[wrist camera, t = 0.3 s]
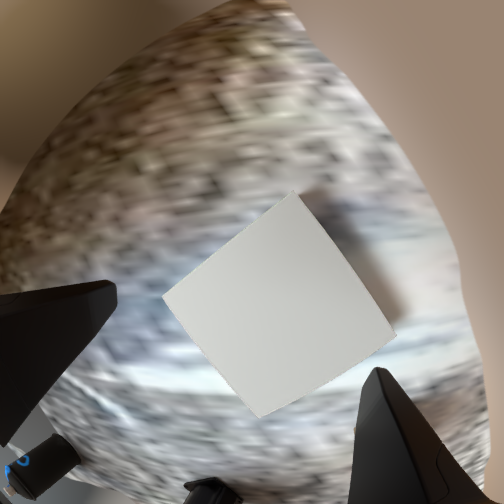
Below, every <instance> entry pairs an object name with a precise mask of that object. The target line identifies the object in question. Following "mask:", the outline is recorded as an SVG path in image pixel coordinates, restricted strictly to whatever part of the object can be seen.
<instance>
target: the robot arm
mask: <svg viewBox="0 0 504 504" xmlns="http://www.w3.org/2000/svg"><path fill="white" fill-rule="evenodd" d="M117 303H118V302H117V288H116V285H115V283H113V282H111V281H109V280H100V281H93V282H87V283H80V284H73V285H67V286H60V287H53V288H46V289H40V290H33V291H26V292H19V293H12V294H4V295H0V445H1V446H2V447H5V446H6V445H7V443H8V442H9V441H10V439H11V437H12V436H13V435H14V434H15V432H16V431H17V430H18V428H19V427H20V426H21V425H22V423H23V422H24V421H25V419H26V418H27V417H28V415H29V414H30V413H31V411H32V410H33V409H34V408H35V406H36V405H37V404H38V403H39V401H40V400H41V399H42V398H43V396H44V395H45V394H46V393H47V392H48V390H49V389H50V388H51V387H52V385H53V384H54V383H55V382H56V381H57V380H58V378H59V377H60V376H61V375H62V374H63V372H64V371H65V370H66V369H67V368H68V367H69V365H70V364H71V363H72V362H73V361H74V360H75V359H76V357H77V356H78V355H79V354H80V353H81V352H82V351H83V350H84V348H85V347H86V346H87V345H88V344H89V343H90V342H91V341H92V339H93V338H94V337H95V336H96V335H97V333H98V332H99V331H100V329H101V328H102V326H103V325H104V324H105V322H106V321H107V320H108V318H109V317H110V316H111V314H112V313H113V312H114V311H115V309H116V307H117ZM183 486H184V487H185V488H186V489H187V490H188V491H190V493H189V495H188V497H187V498H186V500H185V502H184V503H183V504H242V503H243V501H244V500H243V499H241V498H240V497H239V496H237V495H236V494H235V493H234V492H232V491H231V490H230V489H228V488H227V487H226V486H225V485H224V484H222V483H221V482H220V481H219V480H218V479H216V478H209V479H204V480H199V481H194V482H189V483H185V484H184V485H183ZM0 504H12V503H11V502H10V501H9V500H8V499H7V498H6V497H5V495H4V494H3V493H2V492H1V491H0ZM348 504H500V503H496V502H494V501H492V500H490V499H489V498H488V497H487V496H486V495H485V494H484V493H483V492H482V491H481V490H480V489H479V487H478V486H477V485H476V484H475V483H474V482H473V480H472V479H471V478H470V477H469V476H468V475H467V473H466V472H465V471H464V470H463V469H462V467H461V466H460V465H459V464H458V463H457V461H456V460H455V459H454V457H453V456H452V455H451V453H450V452H449V451H448V449H447V448H446V446H445V445H444V444H443V443H442V441H441V440H440V438H439V437H438V435H437V434H436V433H435V431H434V430H433V429H432V427H431V426H430V425H429V423H428V422H427V421H426V419H425V418H424V416H423V415H422V414H421V412H420V411H419V410H418V408H417V407H416V406H415V405H414V403H413V402H412V401H411V399H410V398H409V397H408V395H407V394H406V393H405V391H404V390H403V389H402V387H401V386H400V385H399V384H398V382H397V381H396V380H395V378H394V377H393V376H392V375H391V373H390V372H389V371H388V370H387V369H385V368H380V367H375V368H374V369H373V370H372V371H371V373H370V375H369V376H368V378H367V380H366V381H365V383H364V385H363V387H362V391H361V398H360V404H359V411H358V417H357V423H356V429H355V440H354V453H353V464H352V474H351V482H350V490H349V497H348Z"/></svg>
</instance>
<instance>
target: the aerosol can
mask: <svg viewBox="0 0 504 504" xmlns="http://www.w3.org/2000/svg"><path fill="white" fill-rule="evenodd" d="M79 464H80V458H79V456H78V454H77V453H76V451H75V450H74V449H73V447H72V446H71V445H70V444H69V443H68V442H67V441H66V440H65V439H64V438H63V437H61V436H60V435H58V434H55V433H53V434H52V436H51V437H50V438H48V439H47V440H46V441H44V442H43V443H41V444H40V445H38V446H37V447H36V448H34V449H32V450H31V451H30V452H28V453H26V454H25V455H23V456H22V457H20V458H19V459H18V460H16V461H15V462H13V463H11V464H10V465H8V466H7V465H5V468H6V469H5V474H6V477H7V479H8V481H9V484H10V485H8V486H7V487H5V488H3V489H4V490H5V491H6V493H7V494H8V495H9V496H10V497H11V496H13V495H14V494H16V492H17V493H18V494H20V495H22V496H23V497H25V498H27V499H30V500H34V501H36V498H37V497H38V496H40V495H41V494H42V493H44V492H45V491H46V490H47V489H49V488H50V487H51V486H52V485H53V484H55V483H56V482H57V481H58V480H59V479H61V478H62V477H63V476H64V475H66V474H67V473H68V472H69V471H70V470H71V469H73V468H74V467H75V466H76V465H79Z"/></svg>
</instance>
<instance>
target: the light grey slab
mask: <svg viewBox="0 0 504 504" xmlns="http://www.w3.org/2000/svg"><path fill="white" fill-rule="evenodd" d="M162 298H163V299H164V301H165V302H166V304H167V305H168V307H169V308H170V309H171V311H172V312H173V314H174V315H175V317H176V318H177V319H178V321H179V322H180V323H181V325H182V326H183V328H184V329H185V330H186V332H187V333H188V334H189V336H190V337H191V338H192V340H193V341H194V342H195V344H196V345H197V346H198V347H199V349H200V350H201V351H202V353H203V354H204V355H205V356H206V358H207V359H208V360H209V362H210V363H211V364H212V365H213V366H214V368H215V369H216V370H217V371H218V373H219V374H220V375H221V376H222V377H223V379H224V380H225V381H226V382H227V383H228V385H229V386H230V387H231V388H232V389H233V390H234V392H235V393H236V394H237V395H238V396H239V397H240V399H241V400H242V401H243V402H244V403H245V404H246V405H247V406H248V407H249V409H250V410H251V411H252V412H253V413H254V414H255V415H256V416H257V417H258V418H260V417H263V416H265V415H267V414H269V413H271V412H273V411H275V410H277V409H279V408H282V407H284V406H286V405H287V404H289V403H291V402H293V401H295V400H297V399H299V398H301V397H303V396H305V395H306V394H308V393H310V392H312V391H314V390H315V389H317V388H319V387H321V386H322V385H324V384H326V383H328V382H329V381H331V380H333V379H334V378H336V377H338V376H339V375H341V374H342V373H344V372H346V371H347V370H349V369H350V368H352V367H354V366H355V365H357V364H358V363H360V362H361V361H363V360H364V359H366V358H367V357H369V356H370V355H371V354H373V353H374V352H376V351H377V350H379V349H380V348H381V347H383V346H384V345H386V344H387V343H388V342H390V341H391V340H392V339H394V338H395V337H396V336H397V335H396V333H395V332H394V330H393V329H392V327H391V325H390V324H389V322H388V321H387V319H386V318H385V316H384V314H383V313H382V311H381V310H380V308H379V307H378V305H377V304H376V302H375V301H374V299H373V298H372V296H371V295H370V293H369V292H368V290H367V289H366V287H365V286H364V284H363V283H362V281H361V280H360V278H359V277H358V276H357V274H356V273H355V271H354V270H353V268H352V267H351V266H350V264H349V263H348V261H347V260H346V259H345V257H344V256H343V254H342V253H341V252H340V250H339V249H338V248H337V246H336V245H335V243H334V242H333V241H332V239H331V238H330V237H329V235H328V234H327V233H326V231H325V230H324V229H323V227H322V226H321V225H320V223H319V222H318V221H317V219H316V218H315V217H314V216H313V214H312V213H311V212H310V210H309V209H308V208H307V207H306V205H305V204H304V203H303V201H302V200H301V199H300V198H299V196H298V195H297V194H296V193H295V191H294V190H293V191H292V192H291V193H289V194H288V195H287V196H286V197H284V198H283V199H282V200H280V201H279V202H278V203H277V204H275V205H274V206H273V207H271V208H270V209H269V210H268V211H266V212H265V213H264V214H263V215H261V216H260V217H259V218H258V219H256V220H255V221H254V222H253V223H251V224H250V225H249V226H247V227H246V228H245V229H244V230H242V231H241V232H240V233H239V234H237V235H236V236H235V237H234V238H233V239H231V240H230V241H229V242H228V243H226V244H225V245H224V246H223V247H221V248H220V249H219V250H218V251H216V252H215V253H214V254H213V255H211V256H210V257H209V258H208V259H207V260H205V261H204V262H203V263H202V264H200V265H199V266H198V267H197V268H196V269H194V270H193V271H192V272H191V273H190V274H188V275H187V276H186V277H185V278H183V279H182V280H181V281H180V282H179V283H177V284H176V285H175V286H174V287H173V288H171V289H170V290H169V291H168V292H167V293H165V294H164V295H163V296H162Z"/></svg>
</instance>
